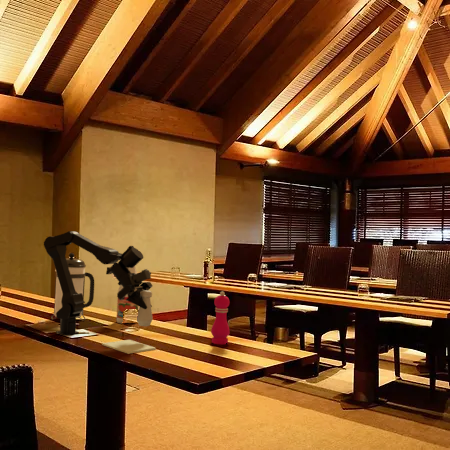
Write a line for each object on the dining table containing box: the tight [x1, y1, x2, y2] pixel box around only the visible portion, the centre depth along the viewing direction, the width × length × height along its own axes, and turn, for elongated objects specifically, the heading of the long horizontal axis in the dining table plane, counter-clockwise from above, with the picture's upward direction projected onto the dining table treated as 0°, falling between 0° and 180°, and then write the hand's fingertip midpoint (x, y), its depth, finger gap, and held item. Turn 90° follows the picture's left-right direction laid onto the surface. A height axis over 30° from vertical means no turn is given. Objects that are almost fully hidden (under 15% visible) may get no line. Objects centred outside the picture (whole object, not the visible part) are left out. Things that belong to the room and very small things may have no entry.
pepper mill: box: [210, 291, 231, 345], centre depth 210 cm, size 7×7×20 cm
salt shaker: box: [137, 290, 153, 327], centre depth 203 cm, size 6×6×13 cm
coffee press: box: [50, 252, 95, 322], centre depth 243 cm, size 17×16×30 cm
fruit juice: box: [116, 266, 139, 325], centre depth 243 cm, size 9×9×28 cm
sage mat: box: [101, 339, 157, 355], centre depth 194 cm, size 16×12×1 cm
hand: (148, 308), depth 202 cm, fingers closed on salt shaker, 3 cm apart
